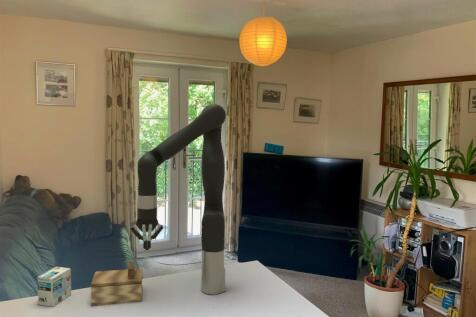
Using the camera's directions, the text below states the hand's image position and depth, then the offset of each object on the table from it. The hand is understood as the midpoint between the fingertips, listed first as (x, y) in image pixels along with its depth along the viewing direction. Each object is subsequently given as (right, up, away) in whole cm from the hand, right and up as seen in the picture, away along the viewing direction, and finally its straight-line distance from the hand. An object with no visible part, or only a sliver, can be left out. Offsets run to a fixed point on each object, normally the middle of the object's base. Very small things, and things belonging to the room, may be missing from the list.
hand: (146, 249), depth 145 cm
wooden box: (-11, -18, -1) cm, 21 cm away
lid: (-11, -11, -2) cm, 15 cm away
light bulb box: (-34, -18, -4) cm, 39 cm away
